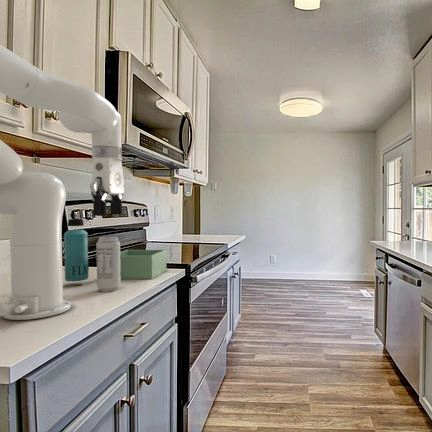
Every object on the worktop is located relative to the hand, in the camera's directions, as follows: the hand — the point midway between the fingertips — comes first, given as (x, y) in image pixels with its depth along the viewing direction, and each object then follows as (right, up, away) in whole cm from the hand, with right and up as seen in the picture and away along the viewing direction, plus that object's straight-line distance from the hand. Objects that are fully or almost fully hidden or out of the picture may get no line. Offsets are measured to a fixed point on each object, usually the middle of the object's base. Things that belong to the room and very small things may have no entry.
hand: (108, 215), depth 102 cm
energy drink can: (0, -22, 0) cm, 22 cm away
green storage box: (-1, -21, +22) cm, 30 cm away
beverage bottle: (-13, -21, +7) cm, 26 cm away
